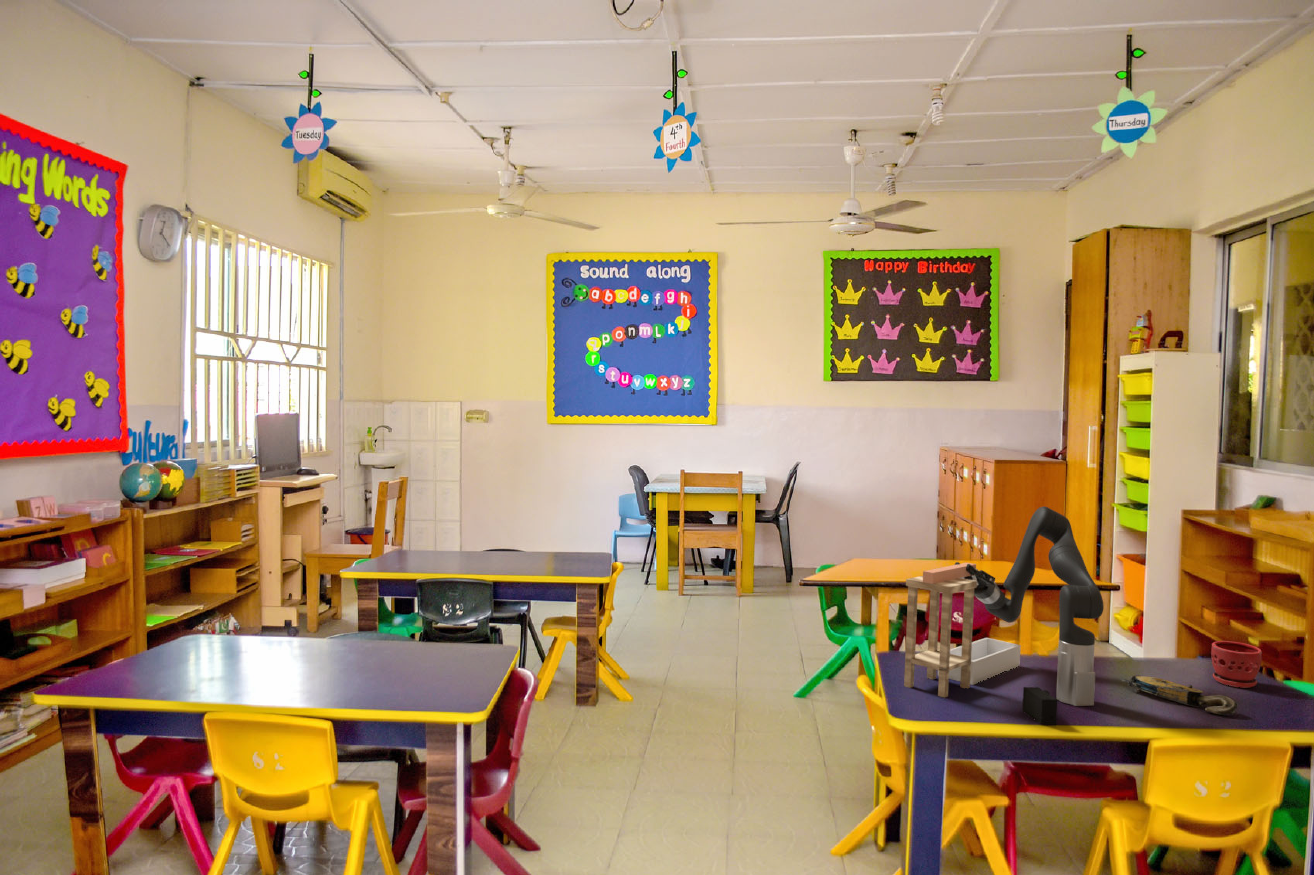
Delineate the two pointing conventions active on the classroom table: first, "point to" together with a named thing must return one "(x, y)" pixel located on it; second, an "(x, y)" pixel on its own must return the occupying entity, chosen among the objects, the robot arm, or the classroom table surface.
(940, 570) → the brown rectangular block
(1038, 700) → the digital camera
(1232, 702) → the pulley block
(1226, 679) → the plant pot
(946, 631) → the tall stand
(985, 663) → the grey bin
